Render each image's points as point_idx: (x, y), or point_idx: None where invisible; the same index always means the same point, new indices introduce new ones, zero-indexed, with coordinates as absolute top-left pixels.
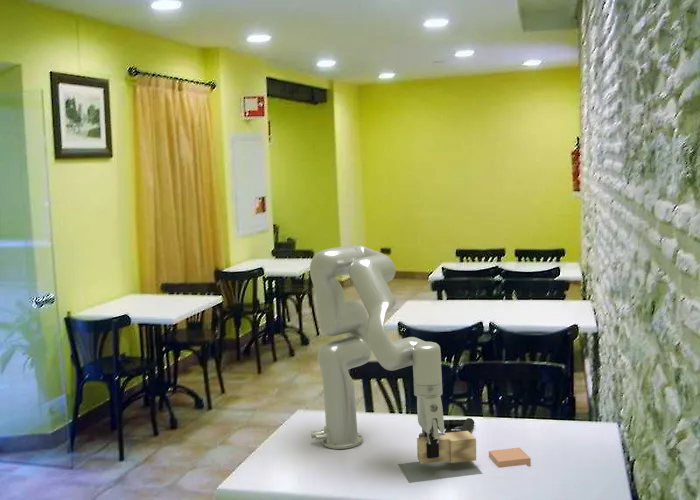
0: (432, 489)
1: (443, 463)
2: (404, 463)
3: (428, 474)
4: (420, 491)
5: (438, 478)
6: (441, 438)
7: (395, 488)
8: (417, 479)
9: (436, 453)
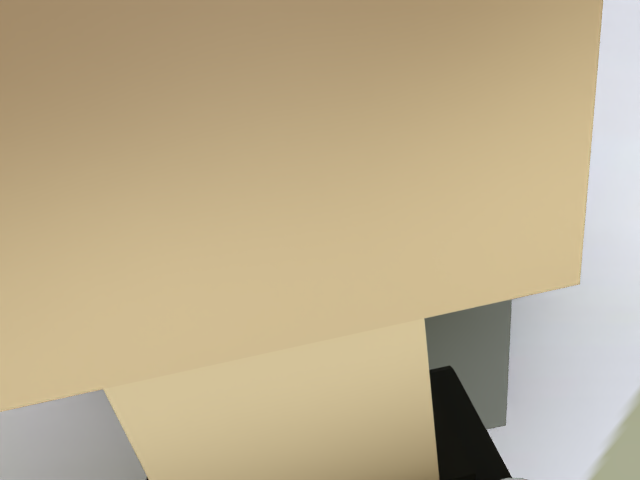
0: (625, 283)
1: None
2: None
3: None
4: (619, 353)
5: None
6: (359, 464)
7: (519, 470)
8: (473, 382)
9: (457, 376)
